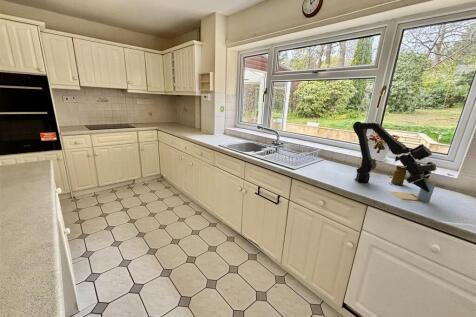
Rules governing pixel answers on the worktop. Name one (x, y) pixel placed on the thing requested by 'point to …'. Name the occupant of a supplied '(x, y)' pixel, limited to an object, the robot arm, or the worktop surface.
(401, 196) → the card
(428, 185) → the canister
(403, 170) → the condiment
